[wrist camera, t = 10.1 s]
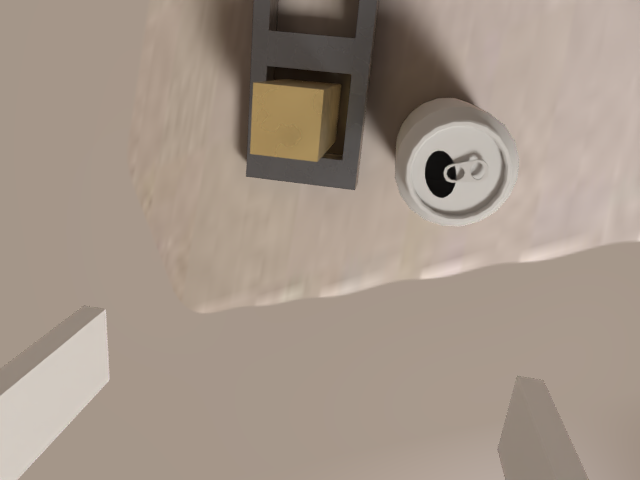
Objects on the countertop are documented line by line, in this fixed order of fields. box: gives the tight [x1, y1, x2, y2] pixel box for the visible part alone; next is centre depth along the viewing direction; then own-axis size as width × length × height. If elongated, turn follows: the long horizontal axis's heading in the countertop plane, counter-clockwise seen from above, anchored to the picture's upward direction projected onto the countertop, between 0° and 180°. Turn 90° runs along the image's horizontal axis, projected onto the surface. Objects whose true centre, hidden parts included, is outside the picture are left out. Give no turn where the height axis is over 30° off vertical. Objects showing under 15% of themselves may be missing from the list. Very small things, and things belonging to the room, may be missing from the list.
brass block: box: [250, 79, 341, 162], centre depth 37 cm, size 4×4×10 cm
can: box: [395, 98, 519, 226], centre depth 35 cm, size 8×8×12 cm
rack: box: [246, 0, 379, 190], centre depth 39 cm, size 9×20×2 cm, turn 175°
